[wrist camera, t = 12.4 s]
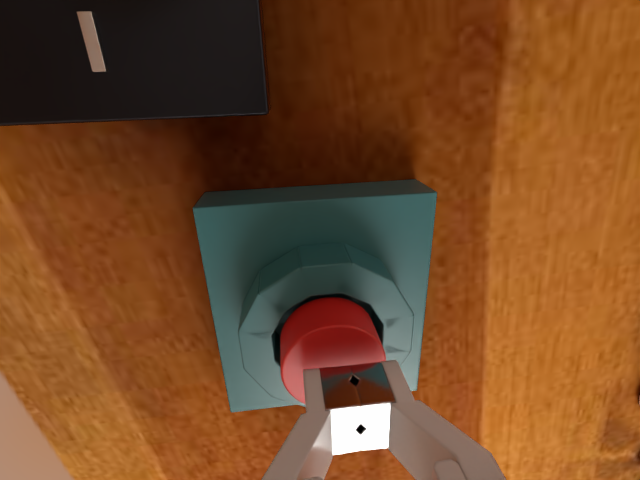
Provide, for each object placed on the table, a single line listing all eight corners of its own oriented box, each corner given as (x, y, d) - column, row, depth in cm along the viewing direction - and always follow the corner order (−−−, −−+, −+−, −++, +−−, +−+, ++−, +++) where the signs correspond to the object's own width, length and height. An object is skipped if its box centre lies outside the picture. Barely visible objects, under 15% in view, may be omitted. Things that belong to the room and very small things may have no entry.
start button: (276, 300, 12) (275, 331, 11) (374, 291, 13) (389, 320, 11) (283, 377, 14) (284, 415, 12) (372, 367, 14) (384, 403, 12)
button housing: (204, 191, 14) (178, 225, 10) (416, 178, 15) (461, 206, 11) (235, 377, 18) (224, 449, 14) (402, 359, 19) (432, 423, 15)
